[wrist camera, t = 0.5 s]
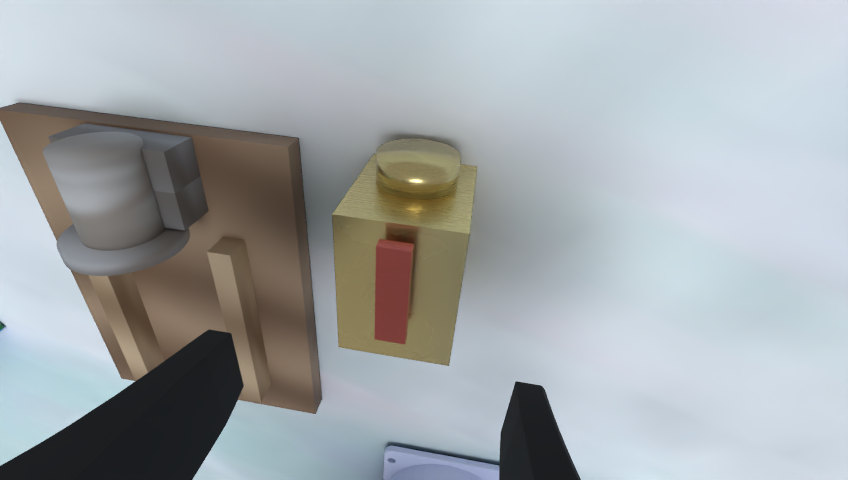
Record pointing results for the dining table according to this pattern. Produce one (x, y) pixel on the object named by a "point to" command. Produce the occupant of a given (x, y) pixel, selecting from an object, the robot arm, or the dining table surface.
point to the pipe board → (180, 239)
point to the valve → (403, 251)
